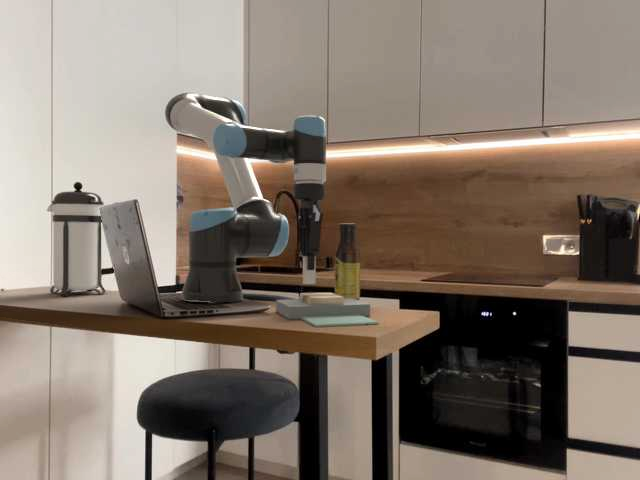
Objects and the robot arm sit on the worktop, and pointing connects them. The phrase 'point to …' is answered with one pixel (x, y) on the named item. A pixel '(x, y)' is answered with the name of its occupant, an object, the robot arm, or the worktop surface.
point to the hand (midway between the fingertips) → (309, 283)
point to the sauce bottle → (347, 263)
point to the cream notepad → (322, 298)
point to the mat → (338, 320)
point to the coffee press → (77, 242)
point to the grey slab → (321, 308)
